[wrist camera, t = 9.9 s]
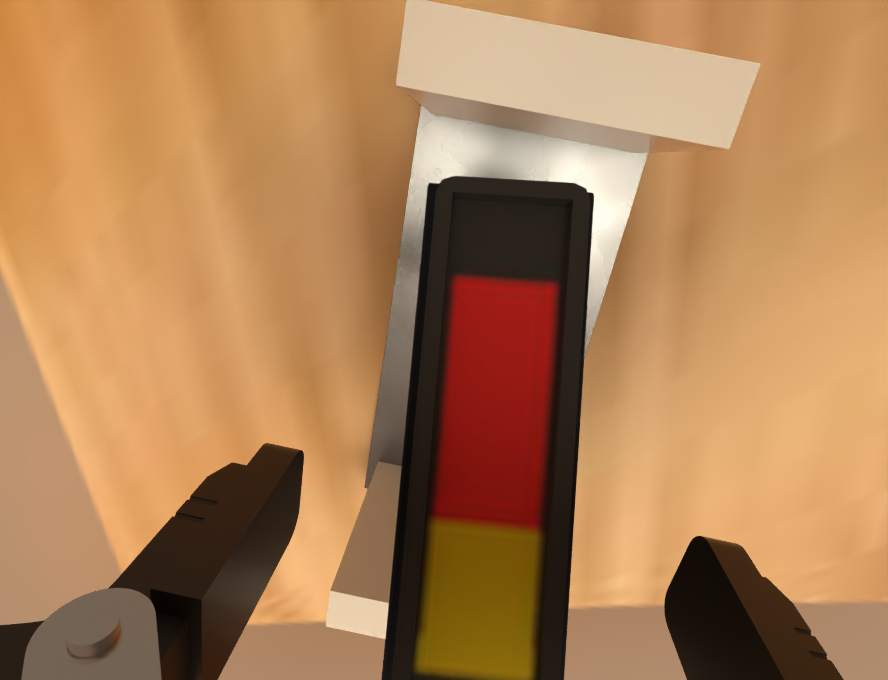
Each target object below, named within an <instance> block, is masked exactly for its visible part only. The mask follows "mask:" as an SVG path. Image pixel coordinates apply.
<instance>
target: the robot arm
mask: <svg viewBox="0 0 888 680" xmlns="http://www.w3.org/2000/svg"><path fill="white" fill-rule="evenodd" d="M303 462H304V454H303V451H302V450H297V449H293V448H288V447H283V446H279V445H274V444H269V443H266V444H264V445H263V446H262V447H261V448H260V449H259V451H258V452H257V453H256V454H255V456H254V457H253V458H252V459H251V461H250V462H249V463H248V465H247V466H246V465H241V464H237V463H230V464H229V465H227V466H225V467H223V468H222V469H220V470H218V471H217V472H215V473H213V474H211V475H210V476H208V477H207V478H206V479H205V480H204V481H203V482H202V484H201V485H200V486H199V487H198V488H197V489H196V490H195V491H194V493H193V494H192V495H191V497H190V499H189V500H187V501H186V502H185V503H184V504H183V505H182V506H181V507H180V509H179V510H178V511H177V512H176V515H175V517H173V516H172V518H171V519H170V520H169V521H168V522H167V523H166V524H165V526H164V527H163V528H162V529H161V530H160V531H159V532H158V533H157V535H156V536H155V537H154V538H153V539H152V540H151V541H150V543H149V544H148V545H147V546H146V547H145V548H144V549H143V550H142V552H141V553H140V554H139V555H138V556H137V557H136V558H135V560H134V561H133V562H132V563H131V564H130V565H129V566H128V568H127V569H126V570H125V571H124V572H123V573H122V574H121V575H120V577H119V578H118V579H117V580H116V581H115V582H114V583H113V584H112V585H111V586H110V587H109V588H108V589H103V590H99V591H94V592H91V593H88V594H85V595H83V596H81V597H78V598H76V599H74V600H72V601H70V602H69V603H67V604H65V605H64V606H62V607H61V608H59V609H58V610H56V611H55V612H54V613H53V614H51V615H50V616H49V617H48V618H47V619H46V620H44V621H39V622H32V623H22V624H10V625H0V680H217V679H218V678H219V676H220V674H221V672H222V670H223V668H224V666H225V664H226V662H227V660H228V659H229V656H230V655H231V653H232V651H233V649H234V647H235V645H236V643H237V641H238V639H239V637H240V636H241V634H242V631H243V630H244V628H245V626H246V624H247V622H248V620H249V618H250V616H251V615H252V613H253V611H254V609H255V607H256V605H257V603H258V601H259V599H260V597H261V595H262V594H263V592H264V590H265V588H266V586H267V584H268V582H269V580H270V578H271V576H272V574H273V573H274V571H275V569H276V567H277V565H278V563H279V561H280V559H281V557H282V555H283V553H284V551H285V550H286V548H287V546H288V544H289V542H290V540H291V537H292V535H293V532H294V529H295V526H296V523H297V519H298V514H299V507H300V496H301V485H302V473H303ZM665 618H666V622H667V626H668V629H669V631H670V634H671V637H672V640H673V642H674V645H675V648H676V651H677V653H678V656H679V659H680V661H681V664H682V667H683V670H684V672H685V675H686V678H687V680H843V678H842V676H841V675H840V673H839V672H838V671H837V669H836V668H835V666H834V664H833V663H832V662H831V661H830V660H827V657H826V656H827V654H826V652H825V651H824V649H823V648H822V646H821V645H820V643H819V642H818V640H817V639H816V637H814V636H811V630H810V628H809V627H808V625H807V624H806V622H805V621H804V619H803V618H802V616H801V615H800V613H799V612H798V610H797V609H796V607H795V606H794V604H793V603H792V602H791V601H790V600H789V599H788V598H787V597H786V596H785V595H784V594H783V593H782V592H781V591H780V590H779V589H778V588H777V587H776V586H775V585H774V584H772V583H771V582H770V581H769V580H768V579H767V578H765V577H762V576H761V575H760V573H759V571H758V570H757V568H756V567H755V565H754V564H753V562H752V560H751V559H750V557H749V556H748V554H747V552H746V551H745V550H744V548H743V547H742V546H740V545H738V544H735V543H731V542H726V541H721V540H716V539H712V538H707V537H702V536H697V537H695V538H693V539H692V541H691V542H690V544H689V546H688V548H687V550H686V552H685V554H684V556H683V558H682V560H681V563H680V565H679V567H678V569H677V571H676V573H675V575H674V577H673V579H672V581H671V583H670V585H669V587H668V590H667V593H666V597H665Z"/></svg>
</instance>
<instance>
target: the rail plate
mask: <svg viewBox="0 0 888 680" xmlns="http://www.w3.org/2000/svg"><path fill="white" fill-rule="evenodd" d="M647 156H648V153H632V152H626V151H621V150H616V149H611V148H606V147H600V146H595V145H590V144H585V143H580V142H575V141H569V140H564V139H559V138H554V137H549V136H543V135H538V134H533V133H528V132H523V131H518V130H512V129H507V128H502V127H497V126H492V125H486V124H481V123H476V122H471V121H466V120H461V119H455V118H450V117H445V116H440V115H435V114H432V113H431V112H429V111H428V110H427V109H425V108H424V107H423V106H422V105H421V109H420V116H419V123H418V130H417V137H416V143H415V150H414V157H413V164H412V170H411V177H410V184H409V191H408V197H407V204H406V211H405V218H404V224H403V231H402V238H401V245H400V251H399V258H398V265H397V272H396V278H395V285H394V292H393V299H392V305H391V312H390V319H389V326H388V332H387V339H386V346H385V353H384V359H383V366H382V373H381V380H380V386H379V393H378V400H377V407H376V413H375V420H374V427H373V434H372V440H371V447H370V454H369V461H368V467H367V474H366V481H365V488H369V485H370V482H371V480H372V477H373V474H374V471H375V469H376V466H377V463H378V461H380V462H384V463H389V464H394V465H399V466H402V456H403V445H404V434H405V424H406V413H407V402H408V392H409V381H410V370H411V359H412V349H413V338H414V327H415V316H416V306H417V295H418V284H419V273H420V263H421V252H422V241H423V230H424V220H425V209H426V198H427V187H428V184H429V183H440V182H441V181H442V180H443V179H446V178H449V177H452V176H467V177H484V178H501V179H517V180H534V181H551V182H568V183H576V184H578V185H580V186H582V187H584V188H586V189H587V192H591V193H593V194H594V208H593V224H592V240H591V256H590V272H589V288H588V304H587V320H586V335H585V351H584V358H585V355H586V351H587V348H588V345H589V342H590V339H591V335H592V332H593V329H594V326H595V323H596V319H597V316H598V313H599V310H600V307H601V303H602V300H603V297H604V294H605V290H606V287H607V284H608V281H609V278H610V274H611V271H612V268H613V265H614V262H615V258H616V255H617V252H618V249H619V246H620V242H621V239H622V236H623V233H624V229H625V226H626V223H627V220H628V217H629V213H630V210H631V207H632V204H633V201H634V197H635V194H636V191H637V188H638V184H639V181H640V178H641V175H642V172H643V168H644V165H645V162H646V159H647Z"/></svg>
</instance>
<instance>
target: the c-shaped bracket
mask: <svg viewBox="0 0 888 680" xmlns="http://www.w3.org/2000/svg"><path fill="white" fill-rule="evenodd" d="M760 64H761V63H756V62H750V61H745V60H740V59H734V58H729V57H724V56H718V55H713V54H708V53H703V52H697V51H692V50H687V49H681V48H676V47H671V46H665V45H660V44H655V43H649V42H644V41H639V40H634V39H628V38H623V37H618V36H612V35H607V34H602V33H596V32H591V31H586V30H580V29H575V28H570V27H565V26H559V25H554V24H549V23H543V22H538V21H533V20H527V19H522V18H517V17H511V16H506V15H501V14H496V13H490V12H485V11H480V10H474V9H469V8H464V7H458V6H453V5H448V4H442V3H437V2H432V1H427V0H407V1H406V9H405V17H404V24H403V32H402V40H401V48H400V55H399V63H398V71H397V79H396V86H397V87H398V88H400V89H401V90H402V91H404V92H405V93H406V94H407V95H409V96H410V97H411V98H413V99H414V100H415V101H416V102H418V103H419V104H420V105H422V106H423V107H424V108H425V109H427V110H428V111H429V112H431V113H432V114H435V115H440V116H445V117H450V118H455V119H461V120H466V121H471V122H476V123H481V124H486V125H492V126H497V127H502V128H507V129H512V130H518V131H523V132H528V133H533V134H538V135H543V136H549V137H554V138H559V139H564V140H569V141H575V142H580V143H585V144H590V145H595V146H600V147H606V148H611V149H616V150H621V151H626V152H632V153H651V152H676V151H702V150H728V149H730V146H731V144H732V141H733V138H734V135H735V133H736V130H737V127H738V124H739V122H740V119H741V116H742V114H743V111H744V108H745V105H746V103H747V100H748V97H749V94H750V92H751V89H752V86H753V84H754V81H755V78H756V75H757V73H758V70H759V67H760ZM401 467H402V466H399V465H394V464H389V463H384V462H380V461H378V463H377V466H376V469H375V471H374V474H373V477H372V480H371V482H370V485H369V488H368V490H367V493H366V496H365V498H364V501H363V504H362V507H361V509H360V512H359V515H358V517H357V520H356V523H355V525H354V528H353V531H352V534H351V536H350V539H349V542H348V544H347V547H346V550H345V553H344V555H343V558H342V561H341V563H340V566H339V569H338V571H337V574H336V577H335V580H334V582H333V585H332V588H331V590H330V597H329V605H328V613H327V621H326V626H327V627H332V628H336V629H341V630H346V631H350V632H355V633H360V634H364V635H369V636H374V637H378V638H384V639H386V628H387V617H388V606H389V596H390V585H391V574H392V563H393V553H394V542H395V531H396V520H397V510H398V499H399V488H400V477H401Z"/></svg>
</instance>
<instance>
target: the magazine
mask: <svg viewBox="0 0 888 680" xmlns="http://www.w3.org/2000/svg"><path fill="white" fill-rule="evenodd" d="M593 208H594V194H593V193H591V192H587V189H586V188H584V187H582V186H580V185H578V184H576V183H568V182H551V181H534V180H517V179H501V178H484V177H467V176H452V177H449V178H446V179H443V180H442V181H441V182H440V183H429V184H428V187H427V198H426V209H425V220H424V230H423V241H422V252H421V263H420V273H419V284H418V295H417V306H416V316H415V327H414V338H413V349H412V359H411V370H410V381H409V392H408V402H407V413H406V424H405V434H404V445H403V456H402V467H401V477H400V488H399V499H398V510H397V520H396V531H395V542H394V553H393V563H392V574H391V585H390V596H389V606H388V617H387V628H386V639H385V649H384V660H383V671H382V680H564V669H565V653H566V637H567V621H568V605H569V589H570V574H571V558H572V542H573V526H574V510H575V494H576V478H577V462H578V447H579V431H580V415H581V399H582V383H583V367H584V351H585V335H586V320H587V304H588V288H589V272H590V256H591V240H592V224H593Z"/></svg>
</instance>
